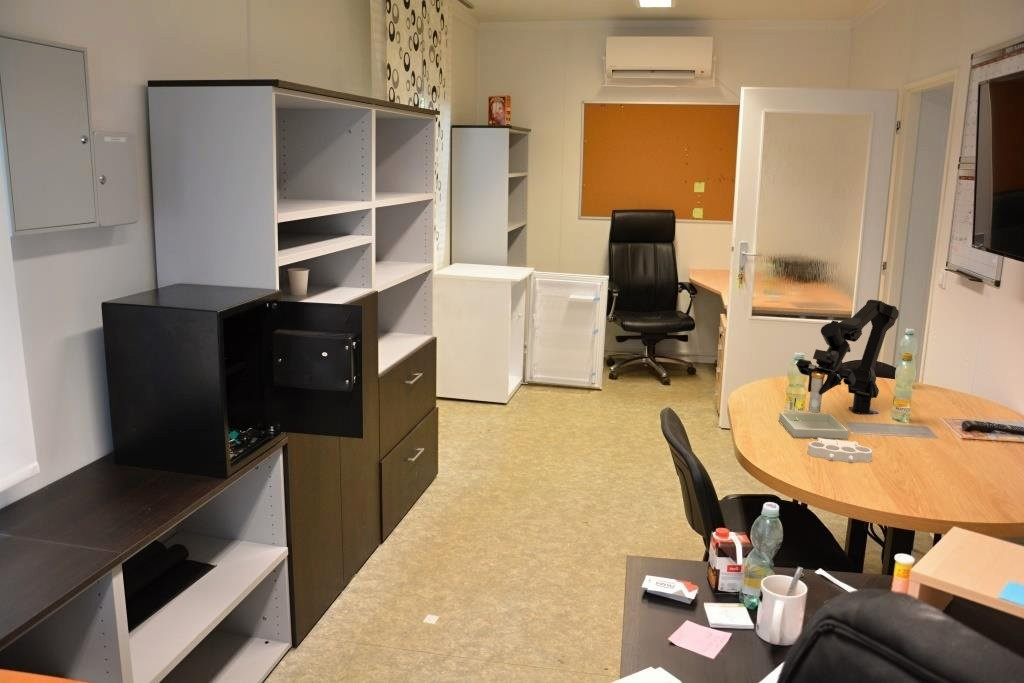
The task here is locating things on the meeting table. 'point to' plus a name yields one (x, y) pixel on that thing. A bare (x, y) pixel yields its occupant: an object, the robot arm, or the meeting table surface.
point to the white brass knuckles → (839, 450)
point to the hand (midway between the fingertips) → (814, 392)
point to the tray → (813, 426)
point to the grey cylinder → (816, 391)
